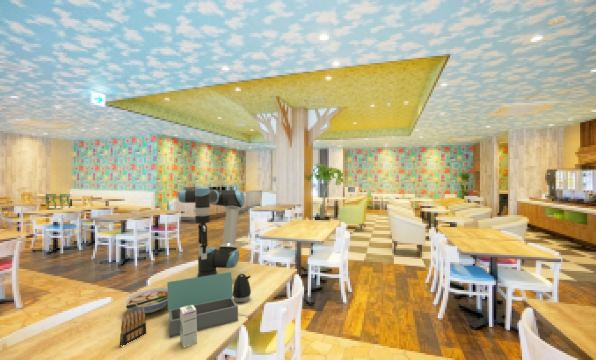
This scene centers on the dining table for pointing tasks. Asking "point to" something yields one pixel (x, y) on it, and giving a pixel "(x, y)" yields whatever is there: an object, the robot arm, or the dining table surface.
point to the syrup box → (188, 325)
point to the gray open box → (207, 315)
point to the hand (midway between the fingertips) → (202, 257)
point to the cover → (199, 290)
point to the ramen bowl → (148, 300)
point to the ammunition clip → (133, 327)
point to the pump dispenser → (241, 288)
